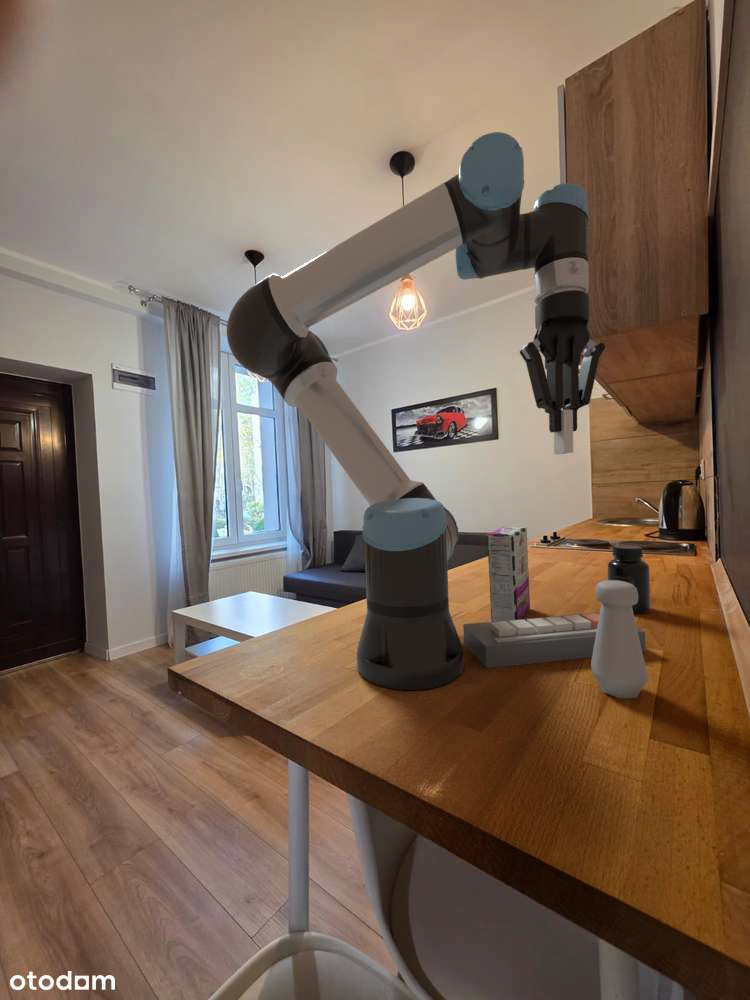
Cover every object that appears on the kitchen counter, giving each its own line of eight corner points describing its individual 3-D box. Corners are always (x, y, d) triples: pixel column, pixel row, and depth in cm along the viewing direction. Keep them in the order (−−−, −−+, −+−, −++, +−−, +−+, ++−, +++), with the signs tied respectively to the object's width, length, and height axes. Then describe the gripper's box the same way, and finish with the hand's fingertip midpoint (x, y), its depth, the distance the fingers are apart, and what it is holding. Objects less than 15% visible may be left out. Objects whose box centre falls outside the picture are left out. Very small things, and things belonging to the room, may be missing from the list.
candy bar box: (505, 605, 81) (502, 526, 80) (530, 608, 78) (528, 526, 78) (489, 622, 71) (486, 532, 71) (517, 626, 69) (514, 533, 68)
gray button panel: (486, 668, 54) (485, 639, 54) (464, 642, 63) (463, 618, 63) (645, 652, 57) (644, 624, 57) (602, 629, 66) (601, 606, 65)
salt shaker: (660, 702, 44) (658, 588, 43) (608, 704, 44) (606, 590, 44) (627, 677, 50) (625, 575, 49) (582, 678, 50) (579, 577, 49)
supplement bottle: (660, 612, 73) (658, 547, 73) (630, 616, 71) (628, 550, 71) (628, 601, 80) (626, 543, 79) (600, 605, 78) (598, 545, 78)
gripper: (533, 286, 56) (536, 452, 57) (618, 288, 57) (619, 450, 58) (509, 310, 63) (512, 456, 64) (585, 311, 65) (586, 454, 66)
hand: (563, 453), depth 61 cm, fingers closed
